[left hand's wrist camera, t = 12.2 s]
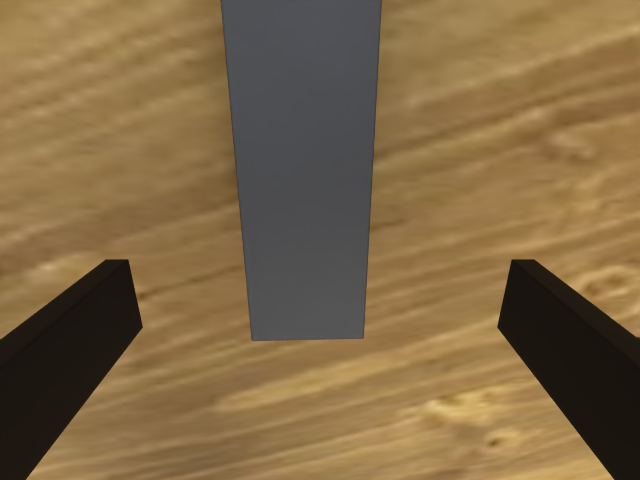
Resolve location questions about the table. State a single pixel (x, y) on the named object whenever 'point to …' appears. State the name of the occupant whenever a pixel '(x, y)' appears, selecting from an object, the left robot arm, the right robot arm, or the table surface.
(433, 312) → the table surface
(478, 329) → the table surface
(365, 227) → the post
